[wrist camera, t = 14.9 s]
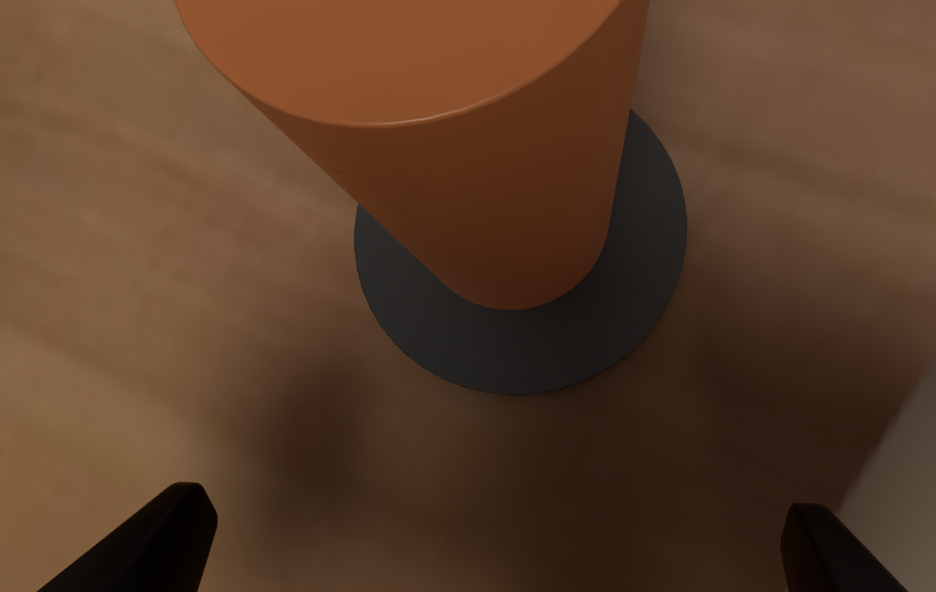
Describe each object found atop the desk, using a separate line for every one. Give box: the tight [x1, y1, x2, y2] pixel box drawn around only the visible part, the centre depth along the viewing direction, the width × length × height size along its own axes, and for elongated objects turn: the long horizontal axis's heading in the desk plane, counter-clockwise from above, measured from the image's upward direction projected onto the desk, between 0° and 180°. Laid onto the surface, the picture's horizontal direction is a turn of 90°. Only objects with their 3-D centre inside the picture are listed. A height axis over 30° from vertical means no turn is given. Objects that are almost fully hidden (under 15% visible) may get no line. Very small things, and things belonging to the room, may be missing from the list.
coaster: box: [354, 109, 687, 395], centre depth 17 cm, size 9×9×1 cm
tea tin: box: [173, 0, 650, 310], centre depth 11 cm, size 5×5×11 cm
